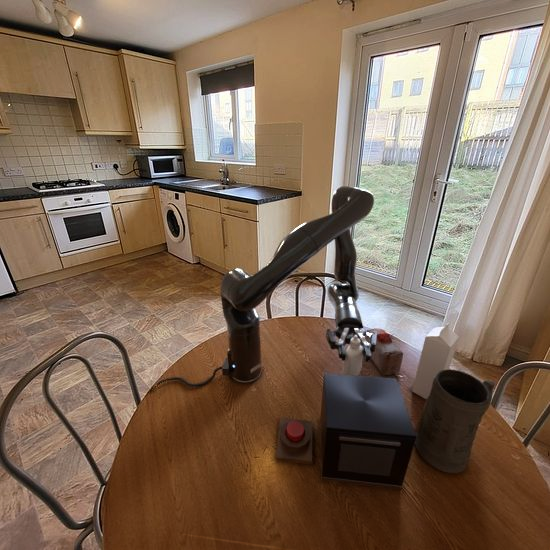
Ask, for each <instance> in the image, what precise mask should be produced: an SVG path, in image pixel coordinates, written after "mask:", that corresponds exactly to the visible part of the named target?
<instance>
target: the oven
mask: <svg viewBox="0 0 550 550" xmlns="http://www.w3.org/2000/svg"><path fill="white" fill-rule="evenodd" d="M319 426H320V427H319V429H320V430H319V431H320V432H319V436H320V437H319V438H320V471H321V472H320V473H321V481H328V482H335V483H336V482H337V483H343V484H353V485H362V486H370V487H379V488H386V489H396V490H402V488H403V485H404V481H405V478H406V474H407V471H408V467H409V464H410V461H411V457H412V454H413V450H414V446H415V440H416V433H417V432H416V431H415V428H414V425H413V421H412V419H411V415H410V413H409V411H408V408H407V405H406V402H405V399H404V396H403V393H402V390H401V387H400V385H399V381H398V379H397V378H391V377H380V376H367V375H357V376H354V375H343V374H342V373H340V374H339V373H328V372H327V373H326V372H324V373H323V381H322V393H321V407H320V420H319Z"/></svg>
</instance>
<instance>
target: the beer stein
mask: <svg viewBox="0 0 550 550" xmlns="http://www.w3.org/2000/svg"><path fill="white" fill-rule="evenodd" d="M495 386H496V383H495V382H494V380H493V381H492V380H489V379H486V380H484V381H483V382H482V381H481V380H480V379H479V378H476V377H475V376H473V375H472V374H469V373H467V372H465V371H461V370H457V369H449V370H448V369H447V370H442V371H440V372H438V374H437V375H436V377H435V378H434V379H433V383H432V388H431V392H430V395H429V396H428V397H427V400H426V399H425V402H424V406H423V410H422V413H421V416H420V419H419V423H418V428H417V432H415V433H416V440H415V443H414V446H415V448H416V450H417V452H418V454H419V455H420V457H421V458H422V459H423V460H424V461H425V462H427V463H428V464H429V465H431V466H432V467H434V468H435V469H436V470H439V471H440V472H444V473H448V474H458V473H461V472H463V471H464V470H466V468H467V466H468V464H469V459H470V458H471V454H472V448H473V444H474V440H475V439H476V434H477V431H478V428H479V426H480V423H481V421H482V419H483V416H484V415H485V413H486V412H487V411H488V410H489V408H490V405H491V403H492V399H493V392H494V388H495Z"/></svg>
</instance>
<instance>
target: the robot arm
mask: <svg viewBox="0 0 550 550" xmlns="http://www.w3.org/2000/svg"><path fill="white" fill-rule="evenodd" d="M374 205H375V198H374V195H373V193H372V192H371V191H369V190H367V189H365V188H361V187H356V186H355V187H354V186H350V185H343V186H342V185H341V186H340V187H338V188H336V190H335V191H334V192H333V194H332V198H331V213H329V214H327V215H324V216H322V217H318V218H315V219H312V220H309V221H307V222H304V223H302V224H300V225H299V226H297V227H296V228H294V229H293V230H292V231H291V232H289V233H288V234H287V235H285V236H284V237H283V238H282V240H281V241H280V242H279V243H278V246H277V247H276V249H275V252H274V254H273V256H272V258H271V259H270V260H269V261H268V263H267V264H265V265H264V266H263V267H262V268H261V269H259V270H257V272H255V273H254V274H252V275H251V274H250V273H249V272H248V271H246V270H244V269H242V268H234V269H231V270H229V271H227V273H225V274H224V276H223V277H222V279H221V282H220V287H219V289H220V290H219V291H220V300H221V308H222V315H223V318H224V320H225V323H226V332H227V342H228V349H227V352H226V354H227V357H225V360H224V362H223V365H222V366H219V367H217V368H215V369H214V371H213V373H212V375H211V376H210V377H209V378H208V379H206V380H205V381H202V382H199V383H190V382H189V381H187V380H185V379H184V378H183V377H180V376H174V377H168V378H164V379H162V380H159V381H158V382H156V383H155V384H157V383H158V384H157V386H155V387H154V388H153V390H155V388H157V387H158V386H159V385H161V384H163V383H165V382H169V381H175V380H176V381H177V380H178V381H181V382H182V383H184V384H185V385H186V386H188V387H192V388H193V387H195V388H196V387H200V386H204V385H206V384H208V383H209V382H211V381H212V380H214V378H215V377H216V374H217V372H218V371H220V370H221V373H222V376H223V377H229V379H233V381H235V382H237V383H240V384H250V383H254V382H256V381H257V380H258V379H259V378H260V377H261V376H262V374H263V368H262V367H263V366H262V349H261V348H262V346H261V344H262V343H261V320H260V315H259V313H258V310H257V309H256V308H257V307H258V306H260V304H262V303H263V302H264V301H265V300H266V299H267V298H268V297H269V296H270V295H271V294H272V293H273V292H274V291H275V290H276V289H277V288H278V287H279V286H280V285H281V284H282V283H283V282H284V281H286V279H287V278H288V277H290V276H291V275H293V274H294V273H295V272H296V271H297V270H298V269H299V268H300V267H303V265H304V264H306V263H307V262H309V261H310V260H312V258H314V256H316V255H317V254H318V253H319V252H321V250H323V249H324V248H325V247H327V246H328V245H329V244H330V243H332V242H333V241H334V248H335V251H334V269H333V276H334V277H335V279H337V280H339V281H341V282H335V283H334V282H333V283H331V284H329V286H328V288H327V298H328V301H329V302H330V303H331V305H332V307H333V308H334V323H335V330H331V328H327V329H326V332H325V338H326V341H327V343H328V345H329V348H330V349H331V350H332V351H333V350H336V351H337V354H338V358H339V359H340V360H341V362H342V361H345V351H346V348H345V347H346V345H350V340H351V338H354V336H355V335H357V336H358V339H360V345H361V346H362V347H363V349H364V351H363V359H364V362H365V363H369V362H370V361H371V360H372V359H371V352H375V347H376V338H377V332H375V331H373V332H372V333H367V330H365V328H364V324H363V320H362V316H361V313H360V311H359V309H358V306H357V301H358V300H359V296H360V293H359V289H358V284H357V277H356V272H357V263H358V262H357V261H358V254H357V248H356V245H355V242H354V241H353V240H354V239H353V236H352V234H351V229H352V228H353V227H354V226H356V225H358V224H359V223H361V222H362V221H363V220H364V219H366V218H367V217H368V216H369V214H370V213H371V212H372V210H373V208H374ZM343 282H345V283H343ZM335 337H336V338H338V339H339V340H338V341H337V340H336V338H335ZM366 337H367V338H368V339H369V341H370V342H371V344H369V343H368V342H367V341H366ZM370 351H371V352H370ZM170 378H171V379H170ZM166 380H167V381H166ZM164 381H165V382H164ZM162 382H163V383H162ZM160 383H161V384H160ZM150 389H151V388H150ZM150 389H149V390H150ZM151 390H152V389H151ZM151 390H150V391H149V392H152V391H153V390H152V391H151Z"/></svg>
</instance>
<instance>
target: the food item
mask: <svg viewBox="0 0 550 550" xmlns="http://www.w3.org/2000/svg"><path fill="white" fill-rule="evenodd" d="M373 331H375V332H377V338H376V347H375V352H371V351H370V352H371V360H372V362H373V363H374V365H375V366H376V368H377V369H378V370H379V372H380V373H381V374H382V375H381V376H389V375H396V374H400V371H401V368H402V363H403V357H404V352H403V351H402V349H400V347H399V346H398V345H397V343H395V341H394V340H395V338H394V337H393V335H394V334H391V333H388V332H387V331H386V330H385V329H382V328H370V329H367V330H366V332H367V333H372V332H373ZM366 341H367V342H368V343H369V344H371V342H370V341H369V339H368V338H367V337H366Z"/></svg>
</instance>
